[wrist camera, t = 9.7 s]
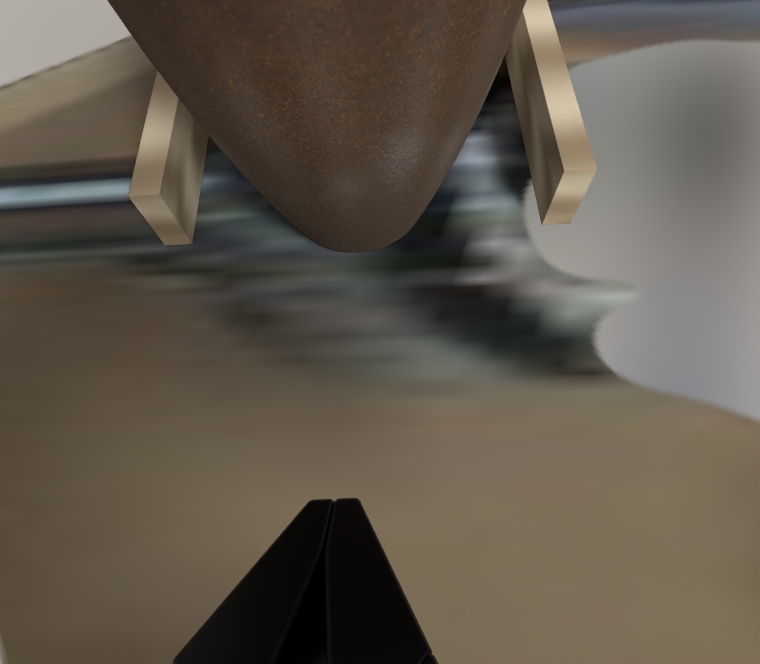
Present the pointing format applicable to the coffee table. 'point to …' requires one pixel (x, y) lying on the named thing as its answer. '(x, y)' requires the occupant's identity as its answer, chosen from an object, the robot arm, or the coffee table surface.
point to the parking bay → (533, 103)
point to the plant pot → (332, 98)
